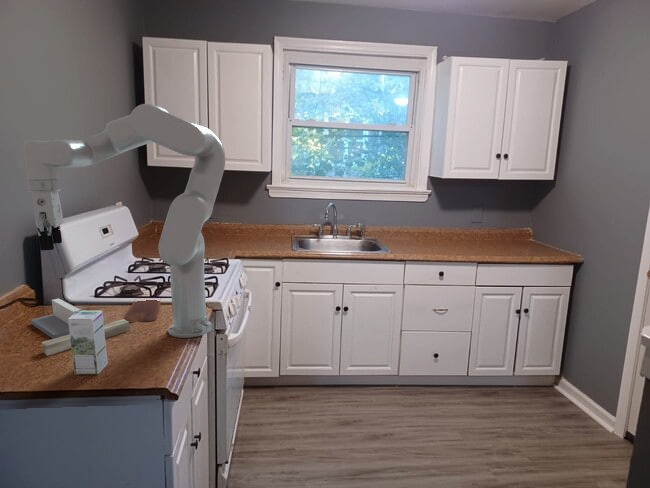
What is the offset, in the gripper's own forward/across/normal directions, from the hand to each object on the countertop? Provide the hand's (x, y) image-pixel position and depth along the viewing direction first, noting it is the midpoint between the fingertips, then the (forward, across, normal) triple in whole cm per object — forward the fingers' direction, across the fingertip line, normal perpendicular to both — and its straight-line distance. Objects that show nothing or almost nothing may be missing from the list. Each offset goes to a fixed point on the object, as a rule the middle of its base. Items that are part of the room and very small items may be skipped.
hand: (51, 246), depth 126 cm
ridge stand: (+26, +4, -1) cm, 26 cm away
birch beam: (+26, -10, -9) cm, 29 cm away
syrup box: (+26, -29, -12) cm, 41 cm away
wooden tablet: (+27, +14, -22) cm, 37 cm away
